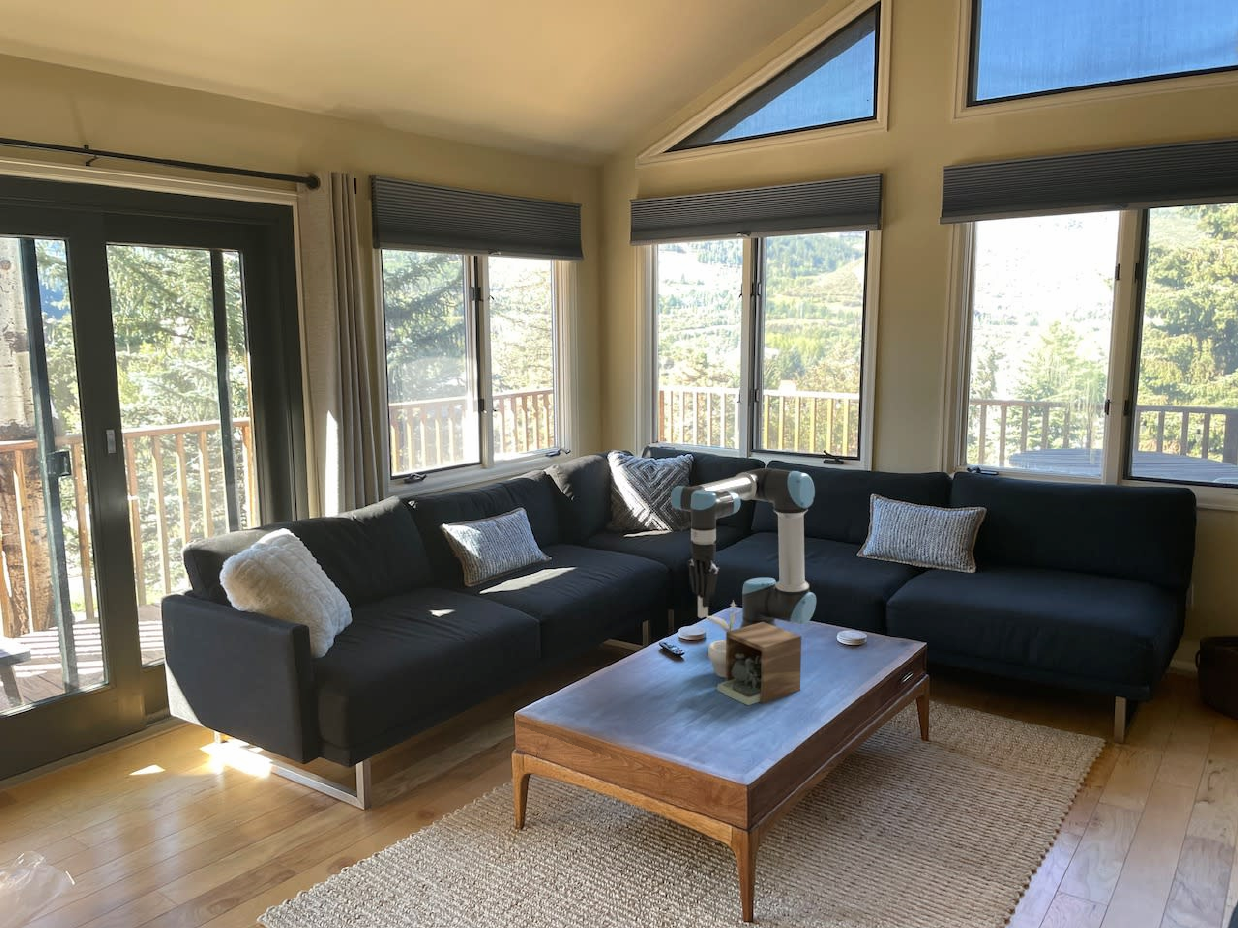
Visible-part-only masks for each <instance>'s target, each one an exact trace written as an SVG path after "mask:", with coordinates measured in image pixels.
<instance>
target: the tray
mask: <svg viewBox="0 0 1238 928" xmlns="http://www.w3.org/2000/svg"><path fill="white" fill-rule="evenodd" d="M755 677H756V676H755ZM756 679H757V681H759V682H761V677H756ZM738 681H739V680H738ZM736 682H737V679H733V680H730V681H726V680H725V681H724V682H721V683H718V684H717V691H718V692H720V693H722V694H724V695H726V696H728V697H730V698H732V699H734V700H736V701H738V702H740V703H742V704H745V705H747V706H751V705H753V704H756V703H759V702H760V703H761V693H760V694H757V695H754V696H745V695H742V694H740V693H738V692H736V691H734V690H733V684H734V683H736Z"/></svg>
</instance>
